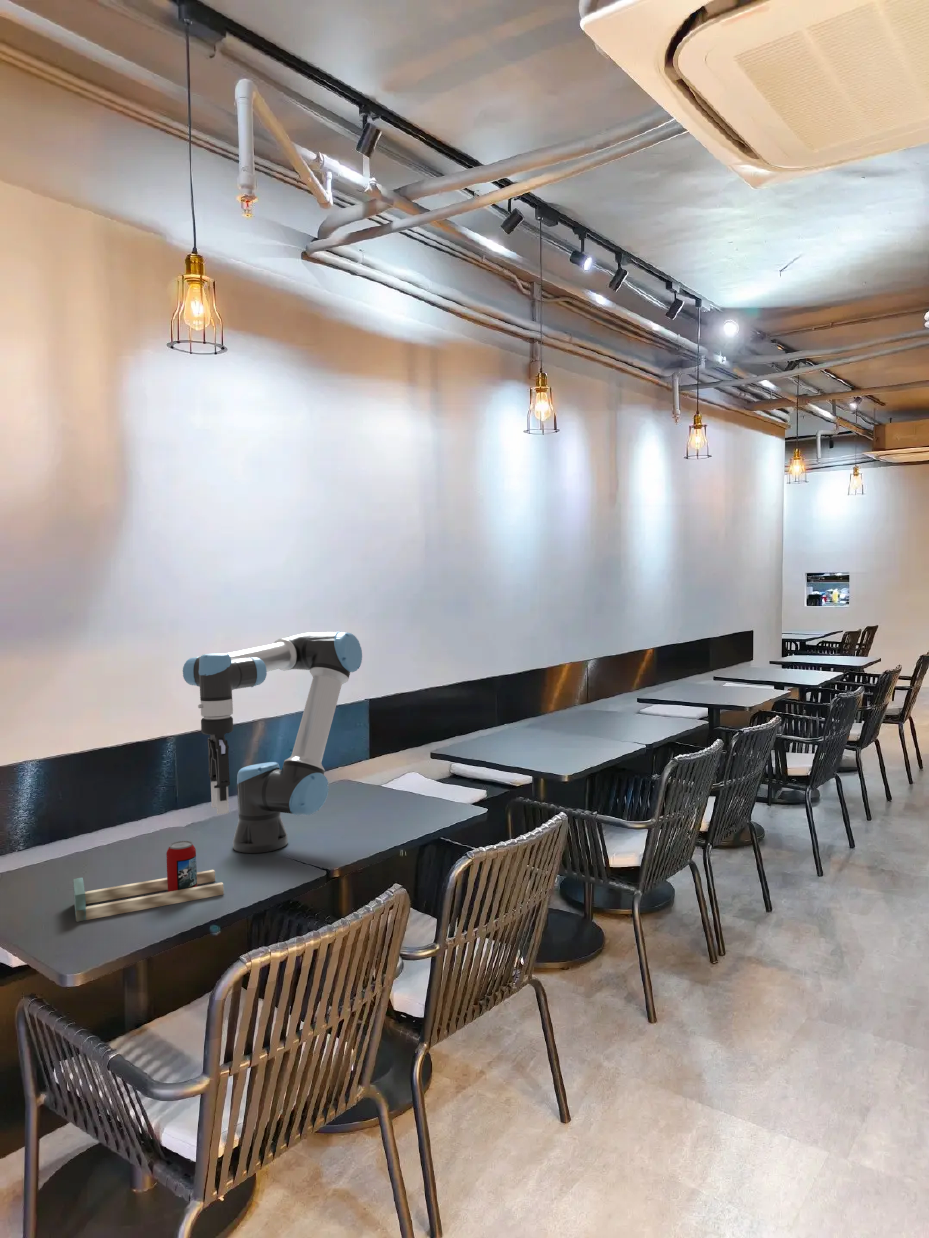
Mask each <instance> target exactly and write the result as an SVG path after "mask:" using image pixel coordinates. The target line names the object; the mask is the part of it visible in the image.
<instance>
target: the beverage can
mask: <svg viewBox="0 0 929 1238" xmlns="http://www.w3.org/2000/svg"><path fill="white" fill-rule="evenodd" d="M193 843H194V842H192V841H191V840H179V841H174V842H172V843H170V844H169V846H168V848H167V850H166V854H165V855H166V878H167V884H168V890H167V892H170V891H176V890H182V889H187V888H193V887H198V884H197V872H198V871H197V870H198V869H197V868H198V867H197V850H196V847H195V846H194V844H193Z"/></svg>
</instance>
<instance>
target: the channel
mask: <svg viewBox="0 0 929 1238" xmlns="http://www.w3.org/2000/svg"><path fill="white" fill-rule="evenodd" d="M72 881H73V882H72V883H73V901H74V902H73V905H74V913H75V921H76V922H78V923H79V922H83V921H89V920H94V919H99V918H104V917H111V916H116V915H119V914H120V915H121V914H125V913H132V912H137V911H142V910H148V909H154V908H158V907H162V906H163V907H164V906H168V905H170V906H171V905H174V904H179V903H185V902H189V901H197V900H200V899H201V900H202V899H207V898H212V897H218V896H224V895H225V894H224V883H223V882H222V881H221V882H216V871H215V869H209V870H203V871H197V887H193V888H187V889H182V890H176V891H170V892H168V884H167V877H163V878H158V879H152V880H145V881H140V882H134V883H129V884H128V883H127V884H121V885H117V886H116V885H115V886H111V887H110V886H109V887H105V888H104V887H103V888H99V889H93V890H88V891H86V890H85V883H84V878H83V877H78V878H73V879H72ZM212 882H216V883H212ZM207 883H208V884H207ZM209 883H211V884H209ZM201 884H203V885H201ZM204 884H205V885H204ZM198 885H199V886H198ZM162 891H166V892H162ZM156 892H159V893H156ZM151 893H155V894H151ZM144 894H145V896H144ZM146 894H149V895H146ZM139 895H143V896H139ZM135 896H138V897H135ZM127 897H128V899H123V898H127ZM129 897H132V898H129ZM121 898H122V900H117V899H121ZM111 900H116V901H111ZM106 901H111V902H106ZM100 902H105V903H100ZM94 903H98V904H94ZM99 903H100V904H99ZM89 904H93V905H89ZM87 905H88V906H87Z"/></svg>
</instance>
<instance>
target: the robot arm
mask: <svg viewBox="0 0 929 1238" xmlns="http://www.w3.org/2000/svg"><path fill="white" fill-rule="evenodd" d="M362 663H363V650H362V646H361V643H360V641H359V639H358V638H357V636H356V635H355V634H353V633H352V632H346V631H345V632H344V631H307V632H301V633H298V634H294V635H290V636H287V637H283V638H278V639H277V640H275V641H274V642H273V643H270V644H265V645H261V646H255V647H250V648H246V649H245V648H244V649H240V650H236V651H230V652H218V653H217V652H215V653H205V654H202V655H200V656H197V657H190V658H189V659H187V660H186V661H185V662H184V664H183V667H182V677H183V679H184V681H185V682H186V683H187V684H188V685H190V686H196V687H198V688H199V696H200V697H199V698H200V704H198V705H197V708H198V709H200V716H201V719H200V730H201V731H200V732H201V733H202V734H203V735H207V736H208V735H209V737H207V740H206V741H207V746H208V747H207V748H208V753H207V754H208V777H209V778H210V779H209V781H210V795H211V797H210V799H211V801H210V803H211V808H212V809H216V815H224V814H229V813H230V809H229V807H230V804H229V803H230V802H229V786H231V780H230V763H229V762H230V760H229V750H230V749H229V748H230V747H229V744H228V740H226V736H225V735H226V734H230V733H232V732H234V718H233V716H232V715H233V714H234V709H233V708H234V707H233V706H234V705H233V702H234V701H233V690H237V689H244V688H254V687H256V686H260V685H261V684H263V683H264V682H265V680H266V678H267V675H268V673H267V672H271V671H275V670H279V671H284V672H285V671H286V672H287V671H290V670H302V671H309V673H310V675H311V677H312V681H311V684H310V687H309V691H308V695H307V698H306V702H305V705H304V709H303V711H302V712H303V713H302V717H301V720H300V724H299V727H298V731H297V734H296V738H295V741H294V745H293V749H292V753H291V755H290V757H288V758H286V759H284V761H283V763H282V768H281V769H280V765H279V762H276V761H269V762H268V761H267V762H262V763H256V764H251V765H247V766H244V767H242V768H240V769H239V770H238V772H237V776H236V778H237V780H236V791H237V809H238V811H237V812H238V821H237V825H236V828H235V832H234V835H233V838H232V845H233V846H232V847H233V848H232V849H234V850H235V852H239V853H246V854H260V853H261V854H262V853H268V852H272V851H277V850H279V849H282V848H284V847H285V846H287V845H288V842H289V841H288V833H287V830H286V828H285V827H286V826H285V825H284V822H283V820H282V817H281V816H282V815H281V813H282V814H283V813H284V814H291V815H292V814H293V815H295V816H311V815H313V814H316V813H317V812H318V811H320V810H321V808H322V807H323V806H324V805H325V802H326V801H327V798H328V795H329V790H330V789H329V788H330V787H329V781H328V778H327V776H326V775H325V771H326V770H325V768H324V766H323V764H322V761H323V758H324V754H325V750H326V746H327V743H328V738H329V734H330V731H331V728H332V727H331V726H332V723H333V719H334V715H335V713H336V708H337V704H338V700H339V696H340V693H341V688H342V687H343V686H342V685H344V684H345V683H348V682H349V679H350V675H351V673H354V672H357V671H358V669H360V667H361V665H362Z"/></svg>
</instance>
